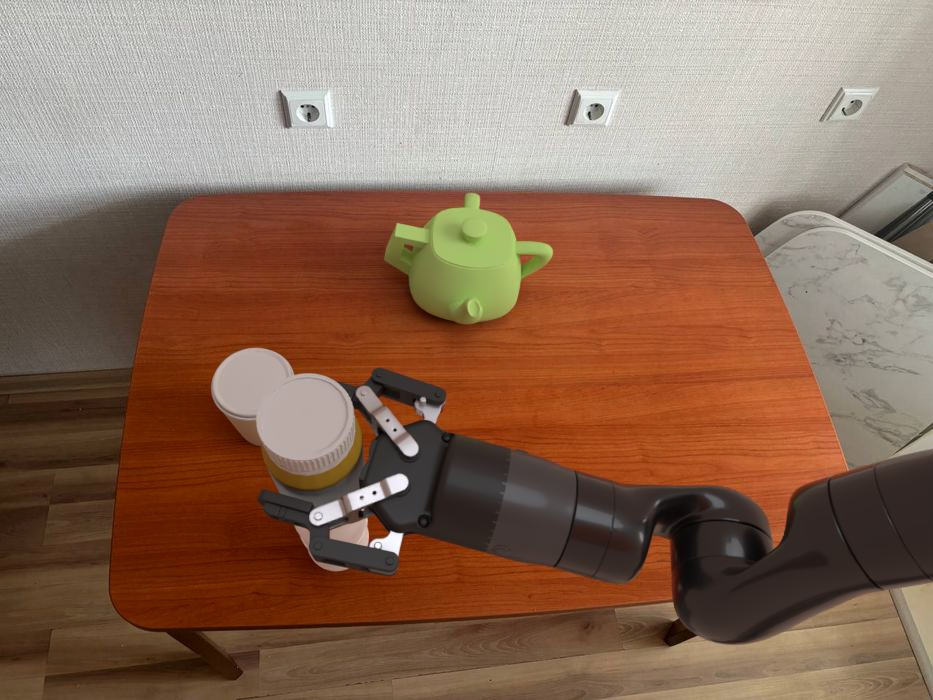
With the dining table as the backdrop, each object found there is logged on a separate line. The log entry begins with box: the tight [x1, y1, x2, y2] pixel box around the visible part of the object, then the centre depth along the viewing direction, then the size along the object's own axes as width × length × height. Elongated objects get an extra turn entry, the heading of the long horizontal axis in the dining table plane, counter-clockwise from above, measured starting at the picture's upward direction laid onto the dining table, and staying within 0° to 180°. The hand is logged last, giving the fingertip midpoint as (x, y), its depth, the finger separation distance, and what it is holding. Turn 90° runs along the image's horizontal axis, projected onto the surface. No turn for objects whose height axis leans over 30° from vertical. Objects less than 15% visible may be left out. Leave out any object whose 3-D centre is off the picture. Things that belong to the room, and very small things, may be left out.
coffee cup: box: [210, 347, 295, 447], centre depth 74 cm, size 9×9×12 cm
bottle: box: [256, 373, 365, 508], centre depth 45 cm, size 7×7×15 cm
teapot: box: [383, 192, 554, 326], centre depth 87 cm, size 19×20×14 cm
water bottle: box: [293, 498, 370, 572], centre depth 62 cm, size 7×7×25 cm
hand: (284, 440), depth 43 cm, fingers open, 8 cm apart
